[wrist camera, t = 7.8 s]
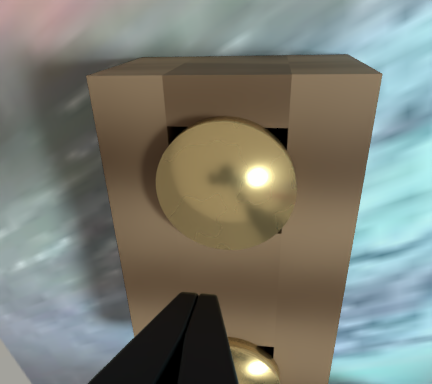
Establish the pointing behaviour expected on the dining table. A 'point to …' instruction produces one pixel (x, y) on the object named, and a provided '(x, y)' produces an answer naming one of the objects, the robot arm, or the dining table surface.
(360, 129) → the block
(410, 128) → the dining table surface
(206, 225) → the peg
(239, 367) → the peg
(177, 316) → the robot arm
